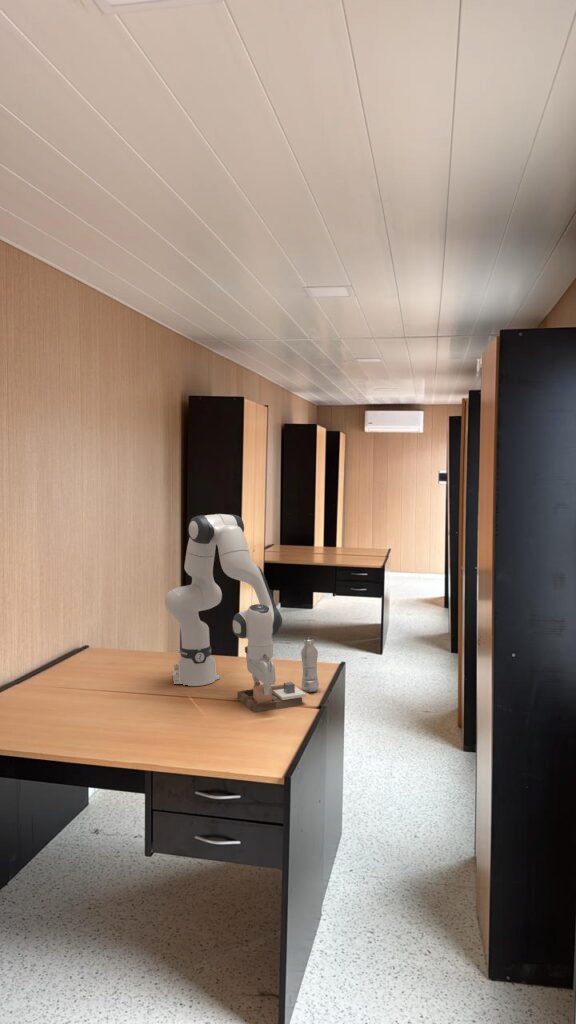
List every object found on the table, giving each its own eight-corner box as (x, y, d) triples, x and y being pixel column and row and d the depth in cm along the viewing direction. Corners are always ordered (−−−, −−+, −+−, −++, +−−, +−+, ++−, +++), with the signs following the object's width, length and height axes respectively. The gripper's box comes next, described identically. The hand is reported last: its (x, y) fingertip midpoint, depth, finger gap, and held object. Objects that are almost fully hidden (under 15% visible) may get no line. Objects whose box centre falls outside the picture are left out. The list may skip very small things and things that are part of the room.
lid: (273, 693, 268) (272, 682, 267) (296, 689, 271) (295, 678, 271) (282, 700, 259) (281, 688, 259) (306, 696, 262) (305, 685, 262)
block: (253, 705, 263) (253, 686, 263) (267, 703, 265) (266, 684, 264) (258, 709, 258) (257, 689, 258) (272, 707, 260) (271, 687, 260)
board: (237, 700, 272) (237, 691, 272) (283, 693, 279) (283, 684, 279) (253, 715, 256) (253, 705, 255) (302, 707, 262) (302, 697, 262)
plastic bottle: (298, 693, 279) (297, 640, 278) (306, 688, 285) (305, 636, 284) (314, 695, 276) (312, 641, 275) (321, 689, 282) (320, 637, 281)
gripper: (279, 658, 252) (280, 698, 253) (259, 644, 271) (260, 681, 272) (262, 660, 250) (263, 700, 251) (243, 646, 269) (244, 684, 270)
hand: (261, 690), depth 261 cm, fingers open, 8 cm apart
